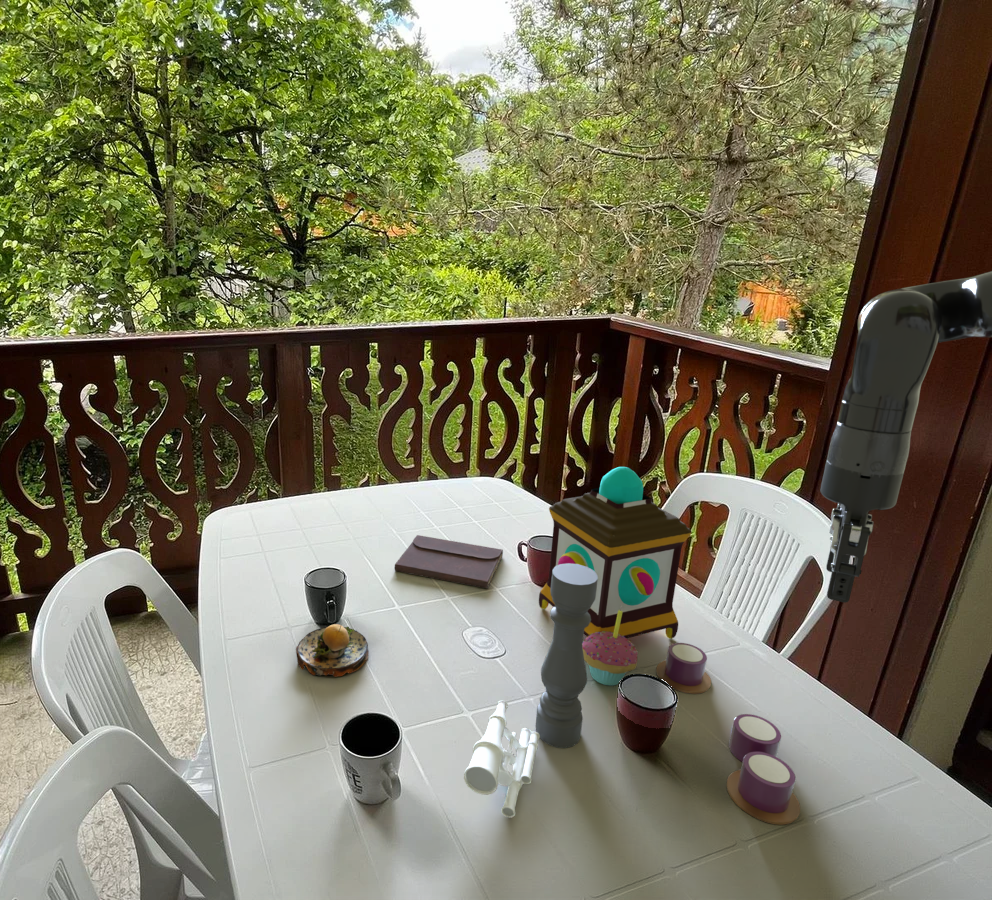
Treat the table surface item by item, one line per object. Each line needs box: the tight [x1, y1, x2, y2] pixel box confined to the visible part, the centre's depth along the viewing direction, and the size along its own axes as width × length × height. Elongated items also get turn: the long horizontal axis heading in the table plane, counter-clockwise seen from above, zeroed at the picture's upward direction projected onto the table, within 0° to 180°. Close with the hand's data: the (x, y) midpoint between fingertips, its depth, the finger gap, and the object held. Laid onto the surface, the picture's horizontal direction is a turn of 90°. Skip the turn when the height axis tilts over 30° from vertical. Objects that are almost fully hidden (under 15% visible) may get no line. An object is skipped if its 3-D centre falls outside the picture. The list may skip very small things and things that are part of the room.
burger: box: [295, 623, 370, 678], centre depth 105 cm, size 12×12×8 cm
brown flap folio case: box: [394, 534, 504, 590], centre depth 136 cm, size 15×20×2 cm
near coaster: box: [726, 769, 801, 826], centre depth 79 cm, size 8×8×1 cm
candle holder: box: [534, 563, 598, 749], centre depth 86 cm, size 6×6×25 cm
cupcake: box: [582, 606, 639, 686], centre depth 99 cm, size 9×8×12 cm
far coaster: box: [655, 659, 712, 695], centre depth 101 cm, size 8×8×1 cm
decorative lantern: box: [538, 466, 692, 639], centre depth 111 cm, size 20×20×30 cm
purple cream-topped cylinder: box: [665, 642, 708, 686], centre depth 100 cm, size 6×6×4 cm
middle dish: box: [728, 713, 782, 763], centre depth 85 cm, size 6×6×4 cm
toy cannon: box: [463, 700, 540, 819], centre depth 82 cm, size 8×14×5 cm
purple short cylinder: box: [738, 752, 796, 813], centre depth 78 cm, size 6×6×4 cm
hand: (836, 585), depth 80 cm, fingers open, 8 cm apart
